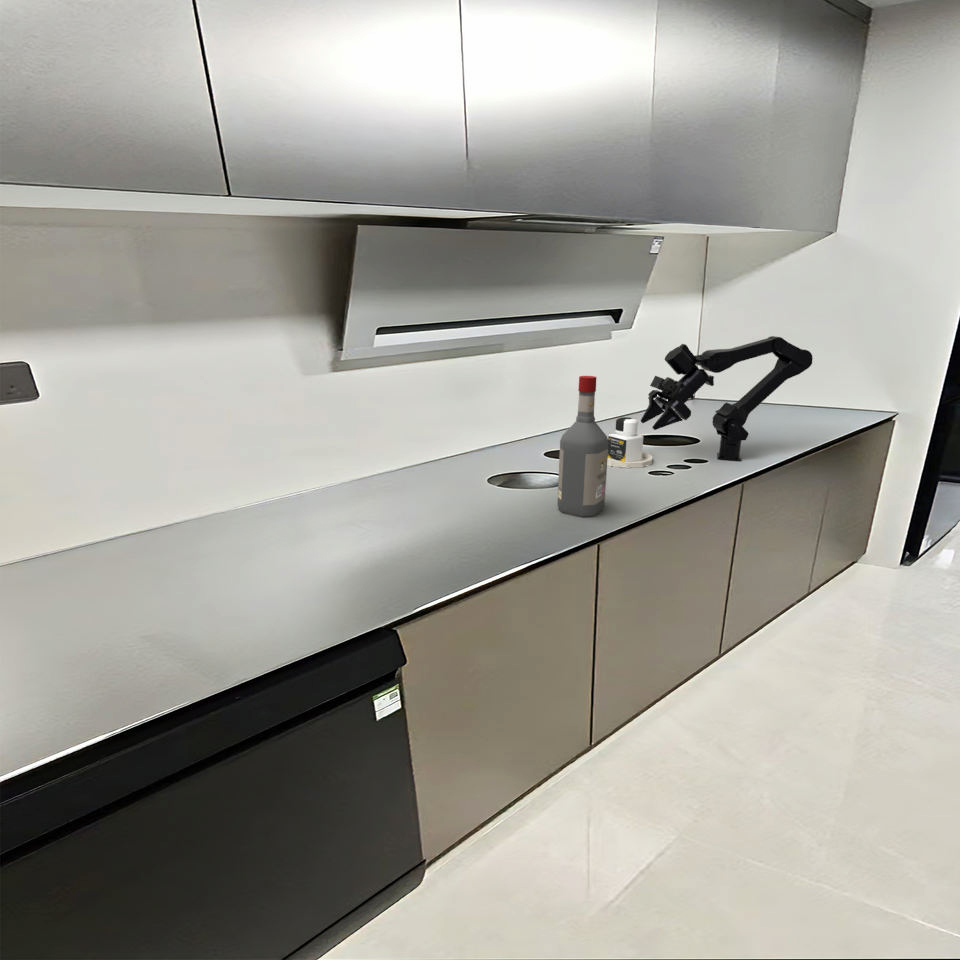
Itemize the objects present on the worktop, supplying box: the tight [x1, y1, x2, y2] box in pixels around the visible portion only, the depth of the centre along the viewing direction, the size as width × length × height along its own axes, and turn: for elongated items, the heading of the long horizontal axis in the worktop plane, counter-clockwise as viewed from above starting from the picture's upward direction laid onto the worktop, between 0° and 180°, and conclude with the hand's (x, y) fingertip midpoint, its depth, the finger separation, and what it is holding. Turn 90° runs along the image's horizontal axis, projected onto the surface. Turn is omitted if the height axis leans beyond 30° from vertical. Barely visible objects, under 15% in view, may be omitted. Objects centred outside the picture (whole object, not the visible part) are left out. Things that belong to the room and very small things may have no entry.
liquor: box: [557, 375, 609, 518], centre depth 146 cm, size 9×9×30 cm
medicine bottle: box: [607, 416, 644, 462], centre depth 190 cm, size 7×7×12 cm
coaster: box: [607, 451, 654, 467], centre depth 191 cm, size 16×16×2 cm
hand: (647, 425), depth 189 cm, fingers open, 9 cm apart
